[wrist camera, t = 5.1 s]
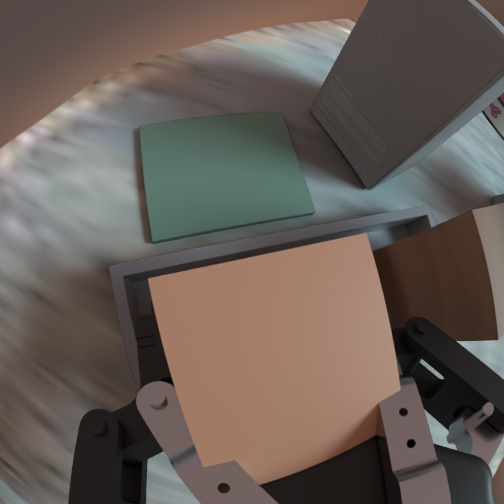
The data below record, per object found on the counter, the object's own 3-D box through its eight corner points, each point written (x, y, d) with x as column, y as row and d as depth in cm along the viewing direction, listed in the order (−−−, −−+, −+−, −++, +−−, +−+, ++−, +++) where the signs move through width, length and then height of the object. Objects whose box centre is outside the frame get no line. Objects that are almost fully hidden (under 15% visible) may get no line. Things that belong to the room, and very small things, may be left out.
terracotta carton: (197, 390, 14) (216, 496, 4) (173, 302, 15) (148, 278, 5) (283, 367, 15) (403, 417, 6) (262, 282, 16) (366, 232, 7)
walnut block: (362, 337, 17) (498, 339, 7) (344, 262, 17) (472, 209, 8) (414, 313, 18) (533, 298, 8) (398, 247, 19) (511, 200, 9)
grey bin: (163, 429, 13) (159, 451, 11) (122, 274, 15) (109, 265, 12) (431, 330, 19) (459, 329, 16) (404, 218, 20) (429, 205, 17)
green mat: (153, 243, 16) (152, 241, 15) (140, 130, 17) (139, 126, 16) (312, 214, 18) (315, 212, 18) (278, 116, 20) (280, 112, 19)
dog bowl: (487, 131, 30) (514, 112, 23) (447, 56, 34) (466, 36, 27) (525, 161, 34) (547, 148, 27) (493, 92, 38) (511, 78, 31)
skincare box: (408, 169, 22) (541, 72, 6) (358, 197, 19) (534, 64, 4) (355, 94, 22) (450, -24, 7) (296, 107, 20) (397, -58, 5)
